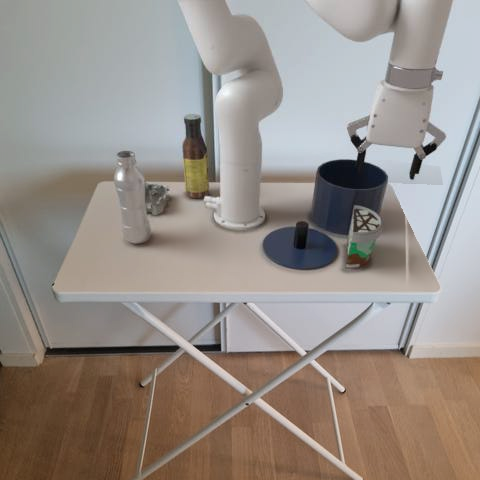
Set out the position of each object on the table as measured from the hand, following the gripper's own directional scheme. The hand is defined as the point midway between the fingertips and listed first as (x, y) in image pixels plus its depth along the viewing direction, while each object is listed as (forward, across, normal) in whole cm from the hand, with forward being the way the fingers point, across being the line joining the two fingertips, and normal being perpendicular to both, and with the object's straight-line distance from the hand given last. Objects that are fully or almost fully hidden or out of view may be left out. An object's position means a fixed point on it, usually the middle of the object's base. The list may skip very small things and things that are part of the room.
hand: (385, 173), depth 89 cm
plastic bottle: (+20, +51, +6) cm, 55 cm away
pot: (+20, +6, -16) cm, 26 cm away
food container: (+20, +1, 0) cm, 20 cm away
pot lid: (+19, +15, 0) cm, 24 cm away
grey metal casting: (+20, +54, -10) cm, 58 cm away
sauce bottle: (+20, +45, -19) cm, 53 cm away
